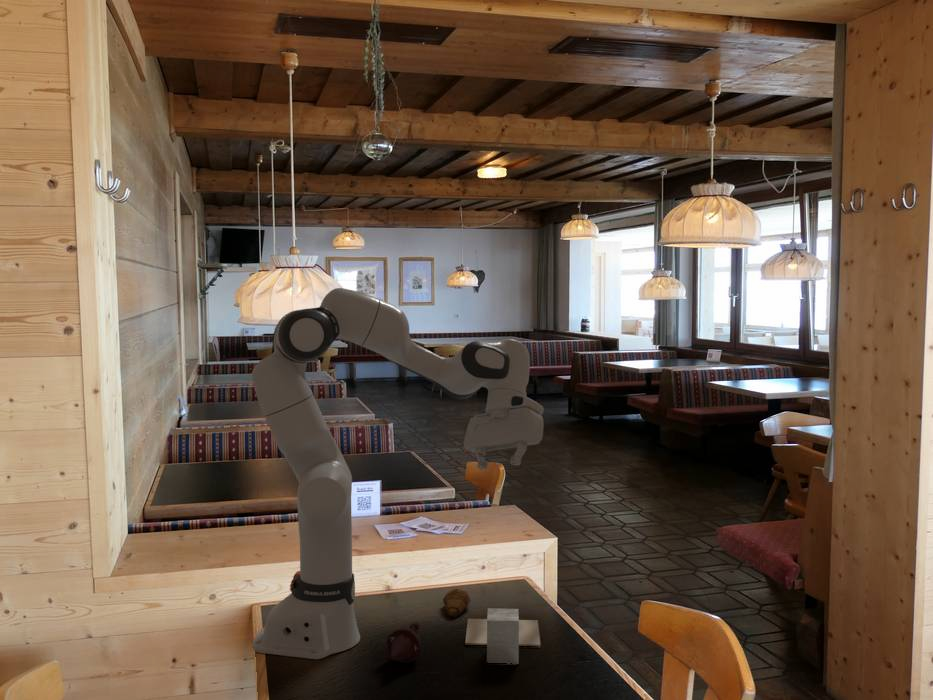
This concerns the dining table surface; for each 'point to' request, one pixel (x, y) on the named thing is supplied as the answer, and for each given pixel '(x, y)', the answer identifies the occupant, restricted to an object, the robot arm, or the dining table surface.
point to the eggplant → (404, 643)
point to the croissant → (456, 602)
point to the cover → (502, 636)
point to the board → (478, 632)
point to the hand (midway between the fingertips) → (498, 466)
